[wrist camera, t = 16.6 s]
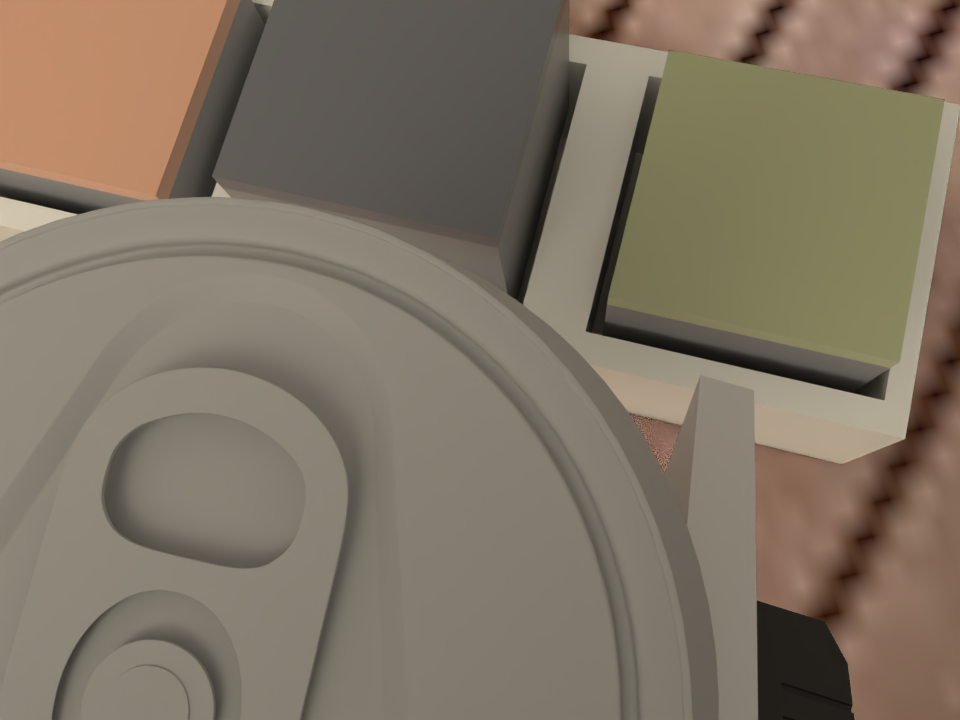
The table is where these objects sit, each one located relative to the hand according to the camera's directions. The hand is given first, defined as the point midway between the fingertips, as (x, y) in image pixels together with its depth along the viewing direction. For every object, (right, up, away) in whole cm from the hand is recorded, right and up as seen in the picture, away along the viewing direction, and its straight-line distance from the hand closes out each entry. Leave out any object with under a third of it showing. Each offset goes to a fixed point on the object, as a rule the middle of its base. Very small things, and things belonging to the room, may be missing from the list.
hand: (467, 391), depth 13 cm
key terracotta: (-10, +7, +16) cm, 20 cm away
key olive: (+8, +3, +13) cm, 15 cm away
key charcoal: (-1, +5, +12) cm, 13 cm away
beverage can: (-1, -4, +3) cm, 5 cm away
